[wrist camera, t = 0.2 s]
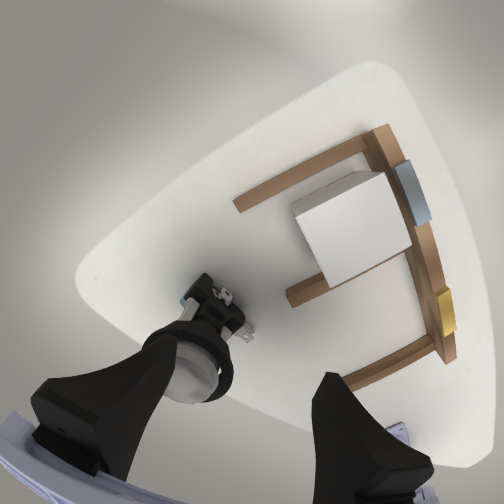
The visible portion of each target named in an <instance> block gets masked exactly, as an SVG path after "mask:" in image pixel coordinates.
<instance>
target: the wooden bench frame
mask: <svg viewBox="0 0 504 504" xmlns="http://www.w3.org/2000/svg"><path fill="white" fill-rule="evenodd" d="M361 151H363V153H364V155H365V157H366V159H367V161H368V163H369V165H370V167H371V169H372V172H384V173H385V175H386V177H387V180H388V182H389V184H390V187H391V189H392V191H393V194H394V196H395V199H396V201H397V204H398V206H399V209H400V212H401V214H402V217H403V220H404V222H405V225H406V228H407V231H408V233H409V236H410V239H411V242H412V245H411V246H410V247H408V248H406V249H404V250H402V251H401V252H399V253H397V254H395V255H393V256H392V257H390V258H388V259H386V260H384V261H382V262H381V263H379V264H377V265H375V266H373V267H371V268H369V269H367V270H366V271H364V272H362V273H360V274H358V275H356V276H354V277H352V278H350V279H348V280H346V281H344V282H342V283H340V284H338V285H336V286H334V287H332V288H330V287H329V284H328V282H327V280H326V278H325V276H324V274H323V272H321V273H319V274H317V275H315V276H313V277H311V278H309V279H307V280H305V281H303V282H301V283H299V284H297V285H295V286H293V287H290V288H288V289H286V294H287V299H288V301H289V303H290V304H291V306H292V308H294V307H296V306H299V305H301V304H303V303H305V302H307V301H309V300H311V299H313V298H316V297H318V296H320V295H322V294H324V293H326V292H328V291H330V290H332V289H334V288H336V287H338V286H340V285H342V284H344V283H346V282H348V281H350V280H352V279H354V278H356V277H358V276H360V275H362V274H364V273H366V272H367V271H369V270H371V269H373V268H375V267H377V266H379V265H381V264H382V263H384V262H386V261H388V260H390V259H392V258H393V257H395V256H397V255H399V254H401V253H402V252H405V255H406V258H407V261H408V264H409V267H410V270H411V273H412V277H413V280H414V283H415V287H416V290H417V294H418V298H419V301H420V305H421V309H422V313H423V317H424V322H425V326H426V330H427V335H426V336H424V337H422V338H420V339H419V340H417V341H415V342H413V343H412V344H410V345H408V346H406V347H404V348H403V349H401V350H399V351H397V352H395V353H393V354H391V355H389V356H387V357H385V358H383V359H381V360H379V361H377V362H375V363H373V364H371V365H369V366H367V367H365V368H363V369H361V370H358V371H356V372H354V373H352V374H349V375H347V376H345V377H342V379H343V380H344V382H345V383H346V385H347V386H348V387H349V389H350V390H351V391H352V392H354V391H356V390H358V389H361V388H363V387H365V386H367V385H369V384H372V383H374V382H376V381H378V380H380V379H382V378H384V377H386V376H388V375H390V374H392V373H394V372H396V371H398V370H400V369H402V368H404V367H406V366H408V365H409V364H411V363H413V362H415V361H417V360H418V359H420V358H422V357H424V356H425V355H427V354H429V353H431V352H432V351H434V350H436V352H437V353H438V354H439V356H440V357H441V359H442V360H443V361H444V363H445V364H446V365H447V364H448V363H450V362H451V361H453V360H455V359H456V358H457V355H456V345H455V336H454V331H455V330H456V322H455V315H454V308H453V303H452V297H451V292H450V289H449V288H448V287H447V286H446V283H445V279H444V274H443V270H442V266H441V262H440V258H439V254H438V250H437V247H436V243H435V240H434V236H433V233H432V230H431V226H430V223H429V221H430V220H431V219H432V218H431V214H430V211H429V208H428V206H427V203H426V200H425V197H424V194H423V192H422V189H421V186H420V184H419V181H418V178H417V176H416V173H415V171H414V169H413V166H412V164H411V161H410V160H405V157H404V155H403V153H402V151H401V148H400V146H399V144H398V142H397V140H396V138H395V136H394V134H393V132H392V130H391V128H390V126H389V124H385V125H383V126H380V127H378V128H375V129H373V130H371V131H368V132H366V133H364V134H362V135H360V136H357V137H355V138H353V139H351V140H349V141H347V142H345V143H342V144H340V145H338V146H336V147H334V148H332V149H330V150H328V151H326V152H324V153H322V154H320V155H318V156H316V157H314V158H312V159H310V160H308V161H306V162H304V163H302V164H300V165H298V166H296V167H294V168H292V169H290V170H288V171H286V172H284V173H282V174H280V175H278V176H277V177H275V178H273V179H271V180H269V181H267V182H265V183H263V184H261V185H260V186H258V187H256V188H254V189H252V190H250V191H249V192H247V193H245V194H243V195H241V196H239V197H238V198H236V199H234V200H233V202H234V204H235V206H236V208H237V209H238V211H239V213H241V212H243V211H245V210H247V209H249V208H251V207H252V206H254V205H256V204H258V203H260V202H262V201H264V200H266V199H267V198H269V197H271V196H273V195H275V194H277V193H279V192H281V191H283V190H285V189H286V188H288V187H290V186H292V185H294V184H296V183H298V182H300V181H302V180H304V179H306V178H308V177H310V176H312V175H314V174H316V173H318V172H320V171H322V170H324V169H326V168H328V167H330V166H332V165H334V164H336V163H338V162H340V161H342V160H344V159H346V158H348V157H350V156H352V155H354V154H356V153H358V152H361Z"/></svg>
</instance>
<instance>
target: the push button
mask: <svg viewBox="0 0 504 504" xmlns="http://www.w3.org/2000/svg"><path fill="white" fill-rule="evenodd" d="M225 292H227V293H228V294H229V296H228V295H227V294H226V293H225ZM232 298H233V295H232V293H231V292H230V291H228V290H227V289H226V288H225V287H222V289H221V292H220V291H219V290H217V289H216V288H215V287H214V286H213V280H212V279H211V278H210V277H209V276H208V275H207V274H206V273H203V274H202V275H201V276H200V278H199V279H198V280H197V281H196V282H195V283H194V284H193V285H192V286H191V287H190V288H189V289H188V290H187V292H186V293H185V294H184V296H183V297H182V298H181V300H180V303H181V304H182V305H183V307H184V309H185V310H184V312H183V313H182V315H181V316H180V318H179V319H178V320H176V321H174V322H172V323H171V324H169V325H167V326H165V327H164V328H161V329H159V330H157V331H155V332H153V333H152V334H151V335H150V336H149V337H148V338H147V340H146V341H145V343H144V344H143V346H142V349H144V348H146V347H147V346H149V345H150V344H152V343H153V342H155V341H156V340H157V339H159V338H160V337H162V336H163V335H165V334H169V335H172V336H175V337H178V344H177V353H176V362H175V370H174V372H173V375H172V377H171V380H170V382H169V385H168V387H167V388H166V390H165V392H164V394H163V395H164V396H166V397H168V398H170V399H172V400H174V401H176V402H180V403H185V404H195V403H203V402H210V401H213V400H216V399H218V398H220V397H222V396H223V395H224V394H225V393H226V392H227V391H228V390H229V388H230V387H231V384H232V380H233V375H234V370H233V364H232V362H231V359H230V352H229V346H228V344H227V343H226V341H227V340H228V339H229V338H230V337H231V336H232V335H233V334H234V335H236V336H237V335H238V336H239V337H240V338H242V339H243V340H244V341H245V342H247V343H248V342H250V341H251V340H252V339H253V338H254V337H253V336H252V334H253V333H254V330H253V329H252V328H251V327H249V326H248V325H247V324H246V323H247V322H246V321H245V316H244V314H243V312H242V311H241V310H240V309H239V308H238V307H237V306H235V305H234V304H233V303H232V302H231V301H232ZM245 329H249V330H250V332H247V331H246V330H245ZM244 335H246V336H248V337H249V338H244ZM219 368H221V371H222V372H221V373H220V374H219V375H218V371H219Z"/></svg>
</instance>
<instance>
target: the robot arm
mask: <svg viewBox="0 0 504 504" xmlns="http://www.w3.org/2000/svg"><path fill="white" fill-rule="evenodd" d="M177 344H178V337H175V336H172V335H169V334H165V335H163V336H162V337H160V338H159V339H157V340H156V341H155V342H153V343H152V344H150V345H149V346H147V347H146V348H144V349H142V350H141V351H139V352H138V353H136V354H134V355H132V356H131V357H129V358H127V359H125V360H123V361H121V362H119V363H117V364H115V365H112V366H110V367H107V368H104V369H102V370H98V371H95V372H91V373H87V374H83V375H78V376H72V377H62V378H49V379H48V380H46V381H45V382H44V383H43V384H42V385H41V386H40V387H39V388H38V390H37V391H36V392H35V393H34V394H33V395H32V396H31V404H32V407H33V410H34V412H35V414H36V416H37V418H38V420H39V422H40V425H39V426H38V427H37V429H36V427H35V426H34V425H33V424H32V423H31V422H29V421H28V420H27V419H25V418H24V417H23V416H21V415H20V414H19V413H18V412H16V411H14V410H13V411H12V412H11V413H10V414H9V415H8V416H7V417H6V419H5V420H4V421H3V422H2V423H1V424H0V462H1V463H2V465H3V466H4V467H5V468H6V469H7V470H8V471H9V472H10V473H11V474H13V475H14V476H15V477H16V478H18V479H19V480H20V481H21V482H22V483H24V484H25V485H26V486H28V487H29V488H30V489H31V490H33V491H34V492H36V493H37V494H38V495H40V496H41V497H42V498H44V499H45V500H47V501H48V502H50V503H51V504H188V503H185V502H181V501H178V500H174V499H171V498H168V497H164V496H161V495H158V494H155V493H152V492H150V491H147V490H144V489H141V488H139V487H136V486H134V485H131V484H129V483H126V479H127V476H128V473H129V470H130V467H131V464H132V461H133V458H134V455H135V453H136V450H137V447H138V445H139V442H140V439H141V437H142V434H143V432H144V430H145V427H146V425H147V422H148V420H149V418H150V417H151V415H152V413H153V411H154V409H155V408H156V406H157V404H158V403H159V401H160V399H161V397H162V395H163V394H164V392H165V390H166V388H167V387H168V385H169V382H170V380H171V377H172V375H173V372H174V370H175V362H176V353H177ZM311 417H312V427H313V435H314V443H315V453H316V472H315V488H314V497H313V504H440V503H439V500H438V497H436V494H435V491H434V489H433V487H431V486H428V485H426V486H424V487H423V488H422V486H421V485H423V484H424V483H425V482H426V481H427V480H428V479H429V478H431V476H432V475H433V473H434V468H433V465H432V462H431V460H430V457H429V456H427V455H425V454H423V453H421V452H419V451H417V450H415V449H413V448H411V447H410V445H409V441H408V437H407V433H406V430H405V426H404V424H403V423H400V424H398V425H395V426H393V427H391V428H389V429H387V430H386V429H384V428H383V427H382V426H381V425H380V424H379V423H378V422H377V421H376V420H375V419H374V418H373V417H372V416H371V415H370V414H369V413H368V411H367V410H366V409H365V408H364V407H363V406H362V404H361V403H360V402H359V401H358V399H357V398H356V397H355V395H354V394H353V393H352V391H351V390H350V389H349V387H348V386H347V385H346V383H345V382H344V380H343V379H342V378H341V376H340V375H339V374H338V373H332V372H326V374H325V376H324V378H323V380H322V382H321V384H320V386H319V387H318V389H317V391H316V393H315V395H314V397H313V399H312V416H311Z"/></svg>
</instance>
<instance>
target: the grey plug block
mask: <svg viewBox="0 0 504 504" xmlns="http://www.w3.org/2000/svg"><path fill="white" fill-rule="evenodd" d="M290 206H291V209H292V211H293V214H294V216H295V218H296V220H297V222H298V224H299V226H300V228H301V230H302V232H303V234H304V236H305V238H306V240H307V242H308V244H309V246H310V248H311V250H312V252H313V254H314V256H315V258H316V260H317V262H318V264H319V266H320V268H321V270H322V272H323V274H324V276H325V278H326V280H327V282H328V284H329V287H330V288H332V287H334V286H336V285H338V284H340V283H342V282H344V281H346V280H348V279H350V278H352V277H354V276H356V275H358V274H360V273H362V272H364V271H366V270H367V269H369V268H371V267H373V266H375V265H377V264H379V263H381V262H382V261H384V260H386V259H388V258H390V257H392V256H393V255H395V254H397V253H399V252H401V251H402V250H404V249H406V248H408V247H410V246H411V245H412V242H411V239H410V236H409V233H408V231H407V228H406V225H405V222H404V220H403V217H402V214H401V212H400V209H399V206H398V204H397V201H396V199H395V196H394V194H393V191H392V189H391V187H390V184H389V182H388V180H387V177H386V175H385V173H384V172H353V173H351V174H349V175H347V176H345V177H343V178H341V179H339V180H337V181H335V182H333V183H331V184H329V185H327V186H325V187H323V188H321V189H319V190H317V191H315V192H313V193H311V194H309V195H308V196H306V197H304V198H302V199H300V200H298V201H296V202H294V203H292V204H290Z"/></svg>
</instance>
